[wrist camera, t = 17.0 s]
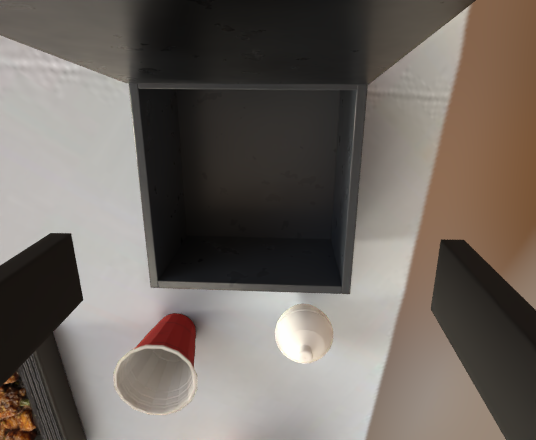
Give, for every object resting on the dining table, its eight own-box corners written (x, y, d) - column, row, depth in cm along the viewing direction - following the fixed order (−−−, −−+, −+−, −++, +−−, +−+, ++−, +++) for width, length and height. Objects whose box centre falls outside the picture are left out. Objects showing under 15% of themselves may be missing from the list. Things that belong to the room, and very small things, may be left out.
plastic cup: (226, 339, 63) (212, 397, 52) (171, 366, 66) (146, 427, 55) (187, 286, 60) (163, 335, 49) (130, 316, 63) (95, 369, 52)
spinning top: (275, 323, 62) (271, 380, 51) (278, 279, 59) (275, 328, 48) (325, 328, 62) (332, 385, 50) (331, 283, 59) (340, 334, 48)
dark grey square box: (336, 242, 57) (349, 294, 44) (182, 238, 58) (150, 287, 45) (348, 77, 49) (368, 79, 36) (170, 76, 50) (127, 78, 37)
